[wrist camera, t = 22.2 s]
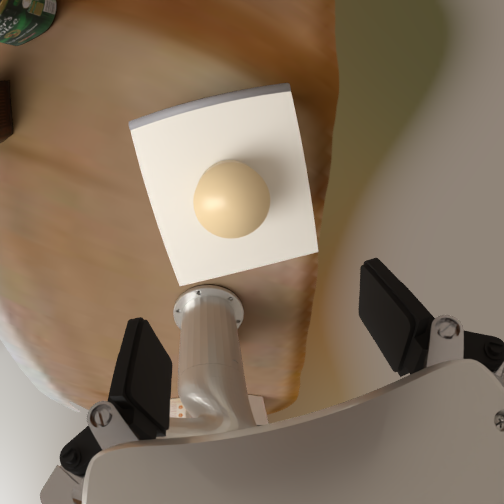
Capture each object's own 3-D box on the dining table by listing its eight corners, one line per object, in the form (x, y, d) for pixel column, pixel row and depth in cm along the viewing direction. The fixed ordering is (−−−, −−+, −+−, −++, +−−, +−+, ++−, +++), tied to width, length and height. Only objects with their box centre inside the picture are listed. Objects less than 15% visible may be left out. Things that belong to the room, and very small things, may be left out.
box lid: (315, 248, 31) (318, 252, 30) (180, 281, 31) (179, 286, 30) (286, 84, 24) (289, 81, 22) (131, 121, 23) (127, 121, 22)
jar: (263, 407, 68) (271, 442, 58) (234, 410, 67) (239, 447, 57) (263, 391, 64) (271, 430, 54) (232, 395, 63) (237, 435, 53)
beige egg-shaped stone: (267, 214, 28) (276, 228, 24) (206, 229, 28) (204, 246, 24) (254, 153, 25) (261, 156, 21) (189, 169, 25) (184, 175, 21)
